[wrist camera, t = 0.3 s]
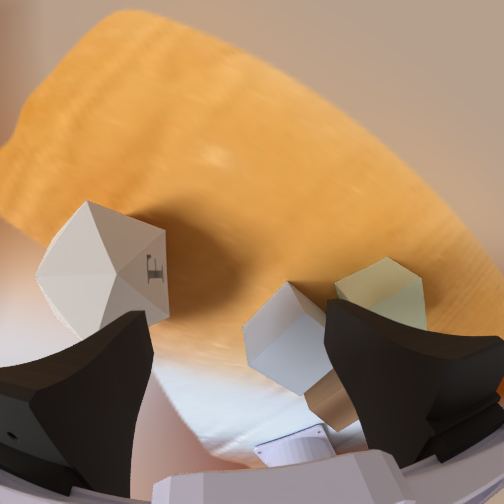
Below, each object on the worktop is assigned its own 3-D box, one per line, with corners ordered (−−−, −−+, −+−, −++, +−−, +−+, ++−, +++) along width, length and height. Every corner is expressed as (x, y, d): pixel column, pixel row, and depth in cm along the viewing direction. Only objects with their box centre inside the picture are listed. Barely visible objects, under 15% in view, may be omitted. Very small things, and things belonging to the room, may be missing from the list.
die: (151, 325, 22) (205, 349, 14) (49, 332, 17) (39, 368, 9) (146, 225, 23) (196, 193, 15) (45, 223, 18) (32, 183, 10)
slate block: (329, 316, 23) (352, 350, 18) (286, 356, 24) (300, 396, 19) (286, 280, 22) (304, 311, 17) (242, 326, 22) (247, 365, 18)
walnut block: (364, 367, 25) (386, 400, 20) (322, 396, 26) (337, 432, 21) (341, 337, 24) (364, 372, 19) (295, 370, 24) (309, 409, 19)
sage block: (396, 305, 23) (427, 332, 19) (348, 330, 23) (372, 364, 19) (386, 256, 22) (421, 278, 17) (333, 282, 22) (360, 312, 17)
